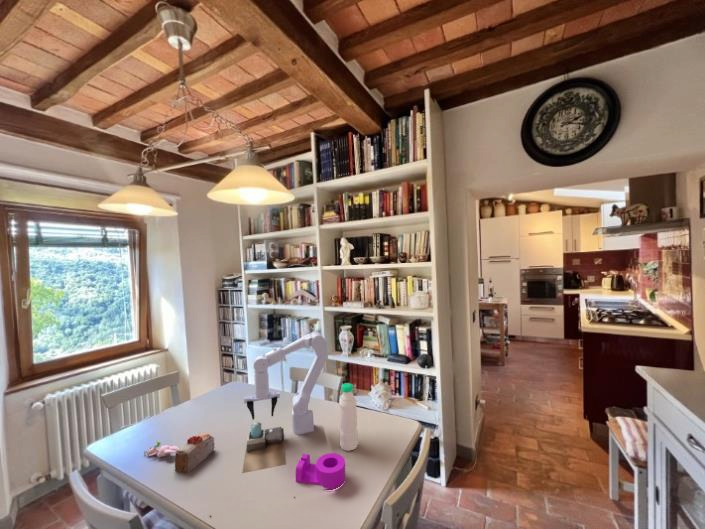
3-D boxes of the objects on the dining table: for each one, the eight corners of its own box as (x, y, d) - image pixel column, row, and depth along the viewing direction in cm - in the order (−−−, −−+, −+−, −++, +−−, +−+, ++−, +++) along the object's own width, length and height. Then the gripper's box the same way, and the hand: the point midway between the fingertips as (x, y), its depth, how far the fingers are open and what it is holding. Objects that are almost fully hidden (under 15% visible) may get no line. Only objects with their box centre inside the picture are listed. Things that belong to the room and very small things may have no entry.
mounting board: (284, 436, 127) (284, 433, 127) (285, 467, 107) (285, 464, 107) (247, 443, 123) (247, 440, 123) (242, 476, 104) (242, 472, 104)
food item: (199, 450, 119) (198, 426, 119) (216, 452, 118) (215, 428, 117) (172, 474, 106) (171, 447, 106) (191, 477, 104) (190, 449, 104)
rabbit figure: (140, 462, 115) (171, 461, 112) (138, 446, 115) (168, 445, 112) (155, 452, 121) (184, 450, 118) (152, 437, 121) (182, 435, 118)
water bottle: (360, 443, 120) (358, 382, 120) (353, 453, 114) (351, 389, 114) (345, 439, 123) (343, 380, 123) (337, 449, 117) (335, 386, 117)
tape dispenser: (348, 472, 104) (347, 454, 104) (341, 493, 95) (341, 474, 95) (305, 467, 108) (305, 450, 108) (295, 487, 98) (294, 468, 98)
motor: (283, 435, 125) (283, 422, 125) (284, 445, 119) (283, 431, 118) (248, 442, 122) (247, 428, 122) (246, 452, 115) (246, 438, 115)
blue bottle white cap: (263, 435, 121) (262, 420, 121) (259, 441, 117) (258, 425, 117) (254, 435, 121) (253, 419, 121) (249, 441, 117) (249, 425, 117)
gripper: (279, 379, 131) (280, 409, 131) (244, 383, 127) (245, 415, 127) (279, 385, 124) (280, 417, 124) (243, 390, 120) (244, 423, 120)
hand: (262, 416), depth 125 cm, fingers open, 7 cm apart
